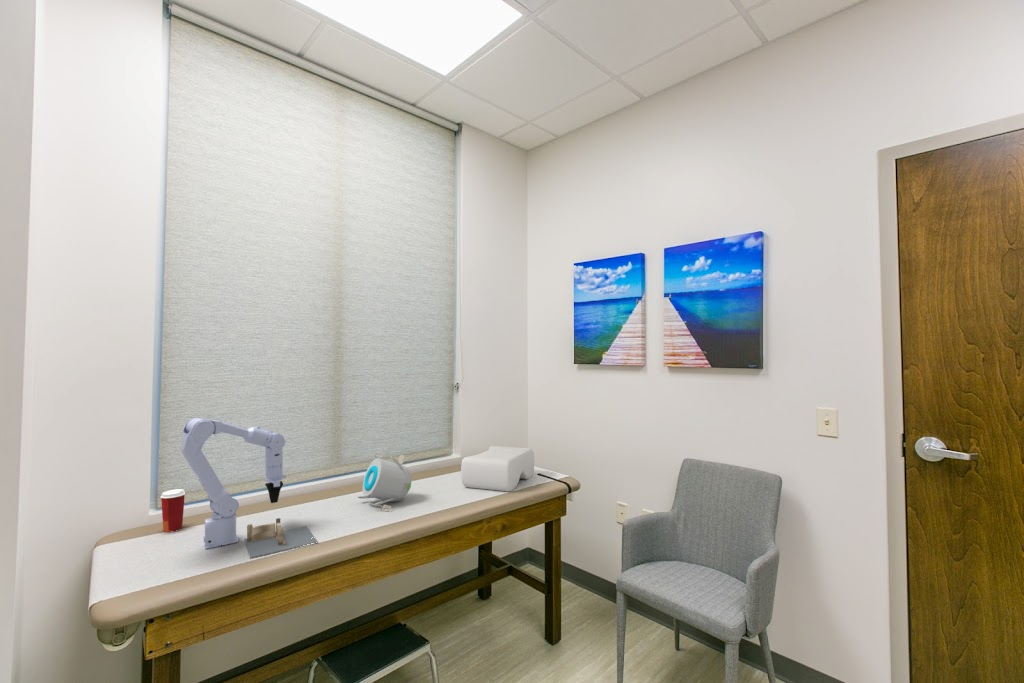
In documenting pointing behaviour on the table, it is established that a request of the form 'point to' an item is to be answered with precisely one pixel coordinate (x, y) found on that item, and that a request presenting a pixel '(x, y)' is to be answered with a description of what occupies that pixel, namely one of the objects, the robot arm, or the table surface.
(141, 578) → the table surface
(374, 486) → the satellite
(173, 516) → the paper cup
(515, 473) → the knee pillow
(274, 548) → the card
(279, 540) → the fence gate
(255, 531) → the fixed fence
